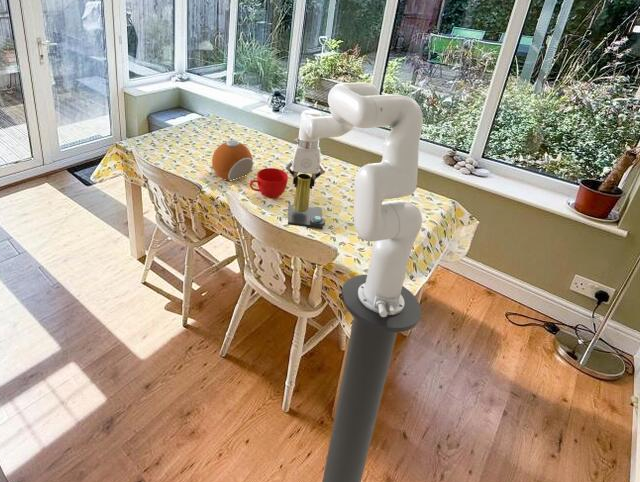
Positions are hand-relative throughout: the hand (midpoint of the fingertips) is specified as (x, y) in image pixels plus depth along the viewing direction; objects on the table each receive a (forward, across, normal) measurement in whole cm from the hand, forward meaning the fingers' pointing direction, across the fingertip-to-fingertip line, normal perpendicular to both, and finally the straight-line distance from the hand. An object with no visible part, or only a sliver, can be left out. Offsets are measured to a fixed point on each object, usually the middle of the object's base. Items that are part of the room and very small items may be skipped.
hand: (303, 186), depth 160 cm
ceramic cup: (+13, -14, +12) cm, 22 cm away
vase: (+10, 0, 0) cm, 10 cm away
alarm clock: (+12, -32, +28) cm, 44 cm away
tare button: (+10, +6, -7) cm, 14 cm away
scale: (+13, +2, -2) cm, 13 cm away
